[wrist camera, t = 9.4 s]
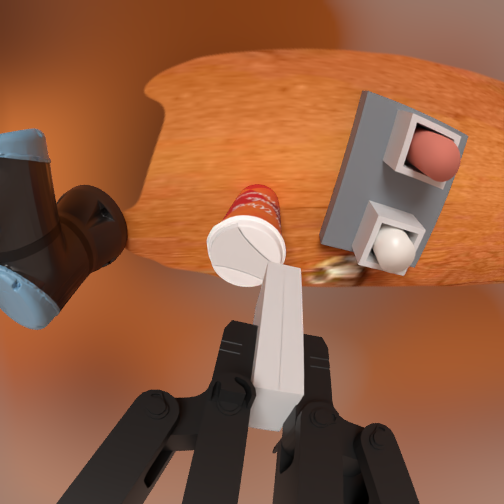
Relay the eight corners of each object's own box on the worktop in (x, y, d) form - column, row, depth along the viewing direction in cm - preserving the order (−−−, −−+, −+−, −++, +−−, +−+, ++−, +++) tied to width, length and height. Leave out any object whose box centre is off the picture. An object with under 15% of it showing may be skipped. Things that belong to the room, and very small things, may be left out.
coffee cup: (297, 196, 42) (302, 250, 29) (266, 238, 46) (257, 303, 33) (247, 164, 40) (227, 204, 28) (218, 210, 44) (190, 265, 32)
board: (319, 234, 45) (324, 263, 38) (362, 90, 33) (379, 91, 26) (408, 257, 45) (425, 286, 38) (458, 132, 33) (487, 143, 27)
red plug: (395, 157, 33) (416, 173, 27) (406, 121, 31) (430, 129, 25) (427, 170, 33) (451, 187, 27) (438, 135, 31) (465, 147, 25)
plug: (361, 241, 41) (372, 268, 35) (373, 209, 38) (388, 233, 32) (390, 249, 41) (405, 276, 35) (403, 219, 38) (421, 243, 32)
